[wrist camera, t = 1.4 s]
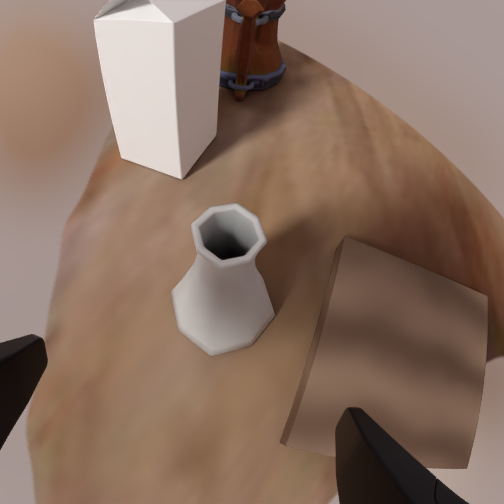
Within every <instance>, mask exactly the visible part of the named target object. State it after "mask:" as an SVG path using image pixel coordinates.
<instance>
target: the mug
mask: <svg viewBox="0 0 504 504" xmlns="http://www.w3.org/2000/svg"><path fill="white" fill-rule="evenodd" d="M285 1H286V0H226V6H225V16H224V28H223V40H222V52H221V66H220V81H219V86H223V87H228V88H233V89H234V91H235V99H236V100H240V101H242V100H243V98H244V96H245V94H246V92H247V90H264V89H266V88H268V87H270V86H272V85H274V84H276V83H278V82H279V80H280V79H281V77H282V75H283V73H284V72H285V69H286V64H285V63H284V61H283V60H282V58H281V55H280V51H279V48H278V43H277V29H278V28H277V27H278V20H279V18H280V16H281V15H282V14H283V13H284V11H285V4H284V2H285Z"/></svg>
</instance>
